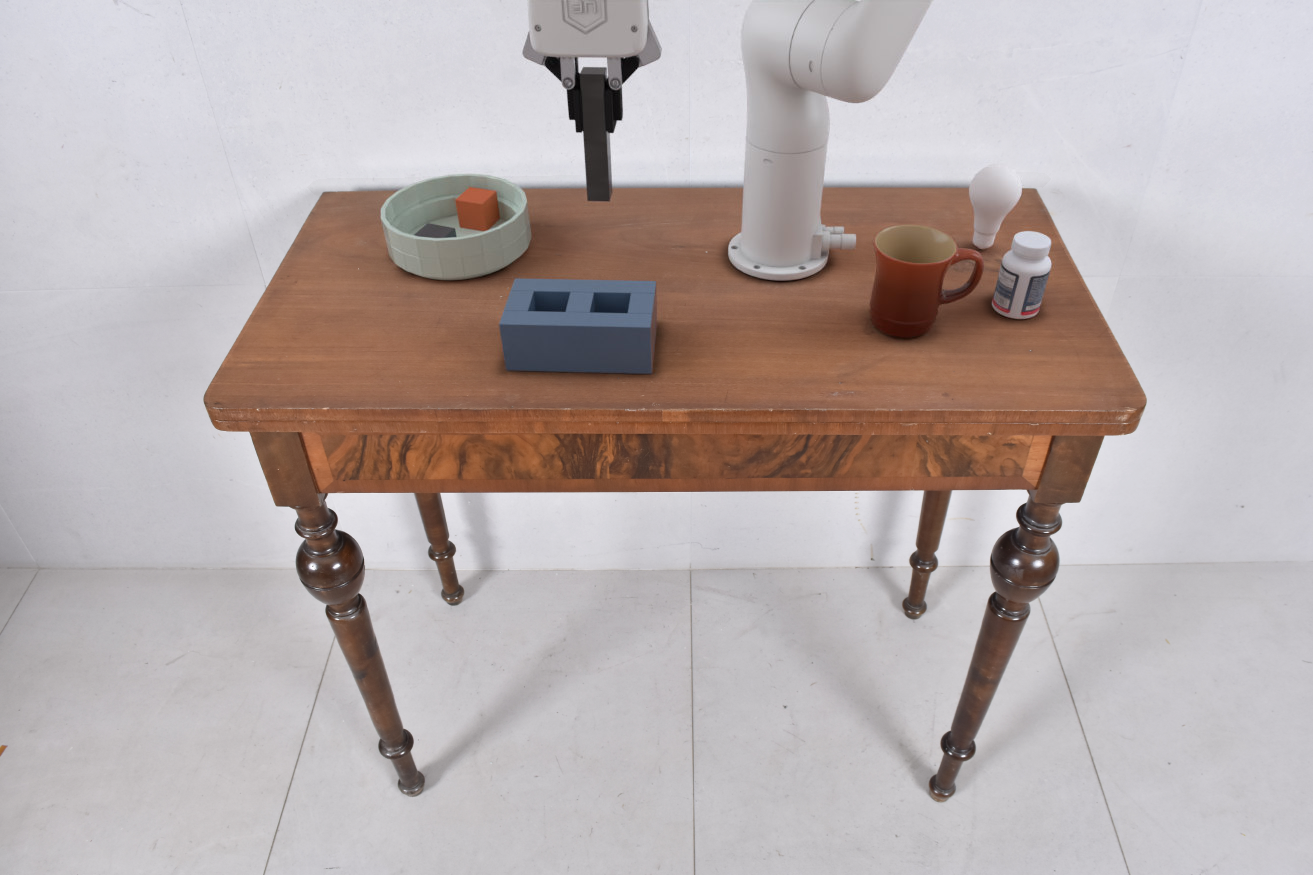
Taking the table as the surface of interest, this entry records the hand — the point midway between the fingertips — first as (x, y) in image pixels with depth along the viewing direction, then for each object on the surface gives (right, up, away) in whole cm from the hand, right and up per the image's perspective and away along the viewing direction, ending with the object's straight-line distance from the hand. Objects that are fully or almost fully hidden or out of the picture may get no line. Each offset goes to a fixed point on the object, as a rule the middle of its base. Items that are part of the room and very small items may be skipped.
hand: (596, 125), depth 87 cm
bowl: (-20, -4, +34) cm, 40 cm away
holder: (-2, -19, +16) cm, 25 cm away
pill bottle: (+47, -14, +21) cm, 54 cm away
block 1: (-22, -7, +30) cm, 38 cm away
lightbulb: (+47, -5, +32) cm, 57 cm away
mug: (+35, -17, +19) cm, 43 cm away
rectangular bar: (0, -6, +4) cm, 7 cm away
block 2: (-18, 0, +37) cm, 42 cm away
